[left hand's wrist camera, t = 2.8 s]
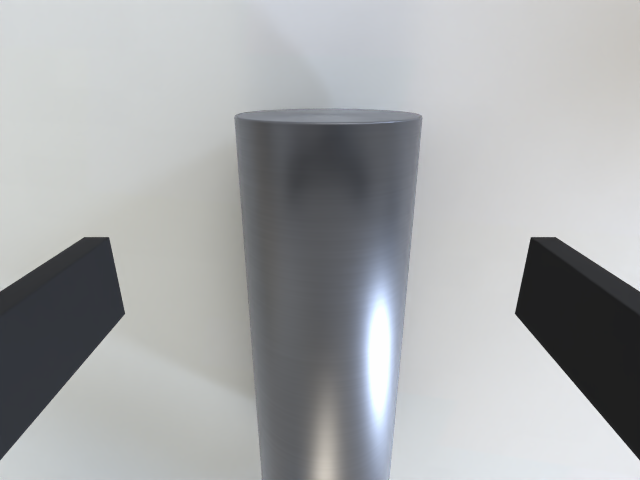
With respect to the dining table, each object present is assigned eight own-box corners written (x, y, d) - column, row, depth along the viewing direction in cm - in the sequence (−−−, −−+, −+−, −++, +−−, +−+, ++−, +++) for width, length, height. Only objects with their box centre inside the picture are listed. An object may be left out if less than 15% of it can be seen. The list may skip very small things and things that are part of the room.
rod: (252, 108, 23) (212, 122, 15) (402, 108, 23) (446, 122, 15) (271, 425, 32) (252, 542, 24) (379, 426, 32) (398, 544, 24)
